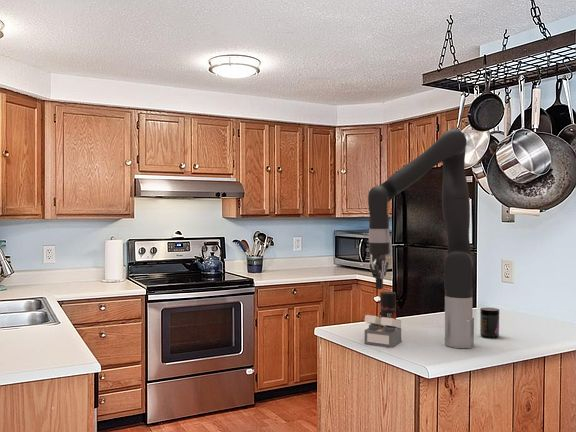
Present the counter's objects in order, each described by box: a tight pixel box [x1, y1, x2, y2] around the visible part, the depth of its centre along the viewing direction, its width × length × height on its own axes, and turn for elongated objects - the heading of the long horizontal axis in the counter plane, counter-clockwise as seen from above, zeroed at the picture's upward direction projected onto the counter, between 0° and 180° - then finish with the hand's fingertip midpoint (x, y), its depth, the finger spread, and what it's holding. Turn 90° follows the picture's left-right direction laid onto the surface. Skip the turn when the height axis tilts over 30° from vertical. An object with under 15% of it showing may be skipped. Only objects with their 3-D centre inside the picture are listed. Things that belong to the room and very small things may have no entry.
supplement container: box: [479, 307, 500, 340], centre depth 200 cm, size 7×7×10 cm
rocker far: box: [364, 314, 385, 326], centre depth 193 cm, size 4×10×3 cm, turn 149°
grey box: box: [364, 323, 402, 349], centre depth 191 cm, size 10×10×6 cm
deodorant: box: [380, 291, 397, 327], centre depth 210 cm, size 6×6×15 cm
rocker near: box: [380, 317, 402, 328], centre depth 190 cm, size 4×10×3 cm, turn 149°
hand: (379, 288), depth 195 cm, fingers closed
